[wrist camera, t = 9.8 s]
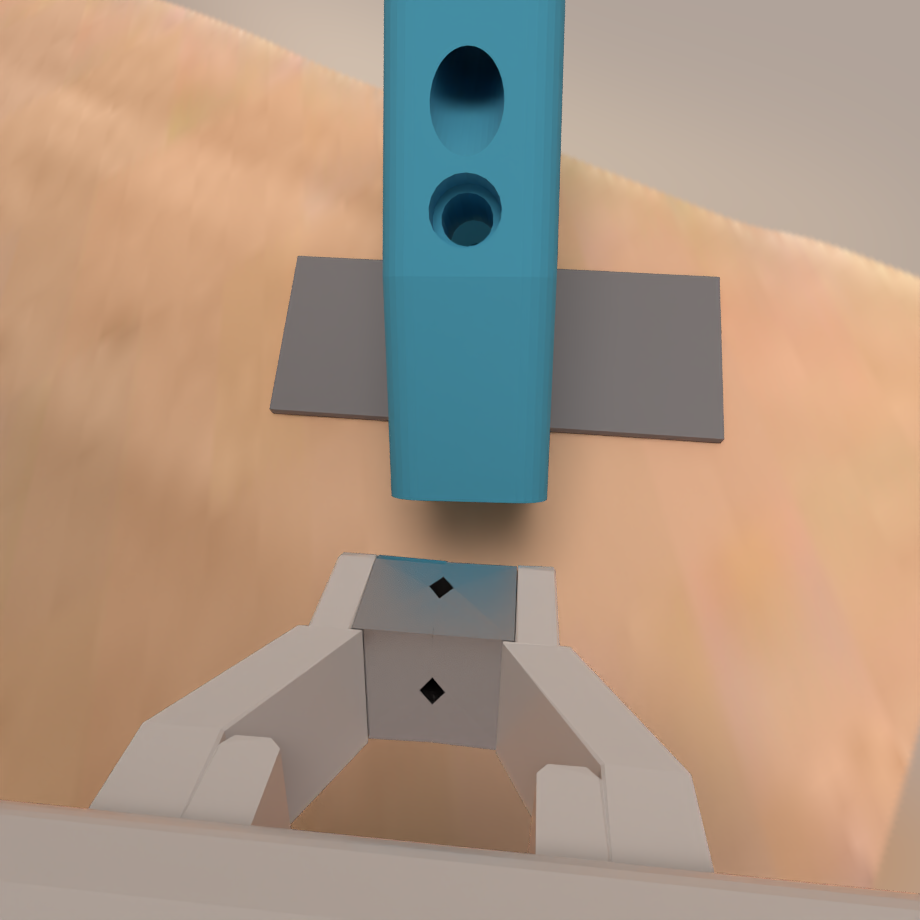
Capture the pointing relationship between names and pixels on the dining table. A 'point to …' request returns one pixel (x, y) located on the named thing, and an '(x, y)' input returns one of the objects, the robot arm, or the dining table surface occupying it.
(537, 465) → the block
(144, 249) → the dining table surface
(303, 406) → the mat
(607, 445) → the dining table surface
